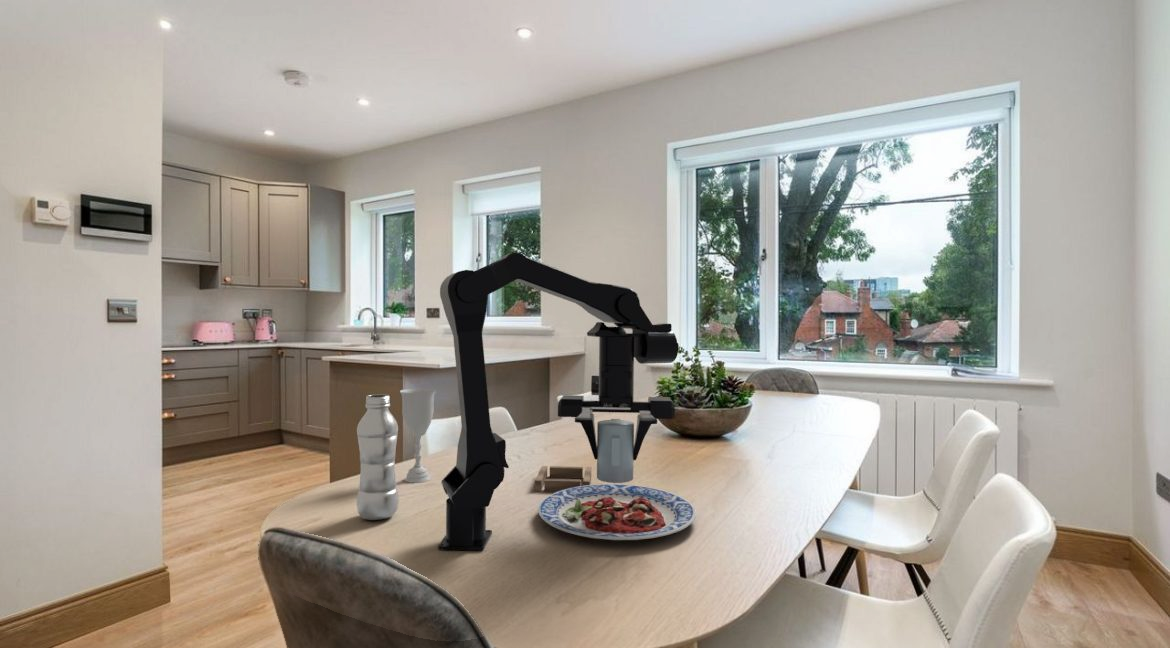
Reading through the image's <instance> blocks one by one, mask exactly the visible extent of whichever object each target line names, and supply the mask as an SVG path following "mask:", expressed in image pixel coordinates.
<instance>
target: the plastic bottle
mask: <svg viewBox="0 0 1170 648" xmlns="http://www.w3.org/2000/svg"><path fill="white" fill-rule="evenodd" d="M365 399H366V400H365V405H364V406H365V409H367V410H366V411H365V414H364V415H363V416H362V417H361V419H360V420H359V422H358V424H357V427H356V435H357V442H358V448H359V449H358V450H359V461H360V463H359V464H360V475H359V487H358V489H359V490H358V492H357V497H356V508H357V513H358V515H359V516H360V517H361V518H362V519H363V520H368V521H369V520H370V521H376V520H383V519H384V520H385V519H388V518H390V517H393V516H394V515H395V514H396V512H397V510H398V508H399V500H400V499H399V498H400V496H399V492H398V487H397V479H396V478H397V476H396V461H395V460H396V448H397V441H398V433H399V426H398V425H399V424H398V422H397V420H396V418H395V417H394V416H393V414H392V412H390V410H389V408H390V407H391V403H390V402H391V401H390V400H391V398H390V395H389V394H370V395H366V398H365Z"/></svg>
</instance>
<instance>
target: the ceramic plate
mask: <svg viewBox="0 0 1170 648" xmlns="http://www.w3.org/2000/svg"><path fill="white" fill-rule="evenodd" d="M537 512H538V515H539V517H540V518H541V519H542V521H544V522H545V523H546V524H548V525H549V526H551V527H553V528H555V529H558V530H559V531H562V532H565V533H568V534H571V535H572V534H573V535H575V536H579V537H585V538H590V539H597V540H600V539H601V540H609V541H639V540H645V539H654V538H659V537H660V538H661V537H664V536H665V537H666V536H669V535H672V534H674V533H678V532H680V531H682V530H684V529H686V528H688V527H689V526H690V525H692V524H693V523H694V521H695V520H696V518H697V510H696V508H695V506H694V505H693V504H692V503H691V502H690V501H689V500H687V499H685V498H684V497H682V496H680V495H678V494H675V493H673V492H670V491H666V490H663V489H660V488H655V487H650V486H643V485H635V484H625V483H602V484H601V483H600V484H590V485H585V486H583V485H580V486H579V487H574V488H569V489H565V490H561V491H555V492H554V493H552V494H550V495H548V496H546V497H545V498H543V500H542V501H540V503H539V505H538V506H537Z"/></svg>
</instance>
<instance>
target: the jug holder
mask: <svg viewBox="0 0 1170 648" xmlns="http://www.w3.org/2000/svg"><path fill="white" fill-rule="evenodd" d="M583 470H584V467H583V466H558V465H557V466H554V465H553V466H552V465H551V466H549V478H548V466H546V465H541V467H540V468H539V471H538V474H537V476H536V477H535V479H534V491H535V492H541V491H542V490H544V492H559V491H561V490H565V489H569V488H574V487H579V486H581V479H583V481H582V484H583V485H582V486H585V485H592V484H591V483H592V482H591V481H592V466H585V470H584V472H583ZM559 478H560V479H559ZM543 487H544V489H543Z"/></svg>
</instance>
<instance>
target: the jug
mask: <svg viewBox="0 0 1170 648" xmlns="http://www.w3.org/2000/svg"><path fill="white" fill-rule="evenodd" d="M596 426H597V430H596V431H597V433H596V441H597V459H596V478H597V480H599V481H601V482H603V483H604V482H605V483H608V484H625V483H629V482H632V481H633V480H634V464H635V463H634V461H635V460H634V442H635V423H634V422H633V421H630V420H625V419H621V418H610V419H605V420H604V419H603V420H600V421H598V422H597V425H596Z"/></svg>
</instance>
